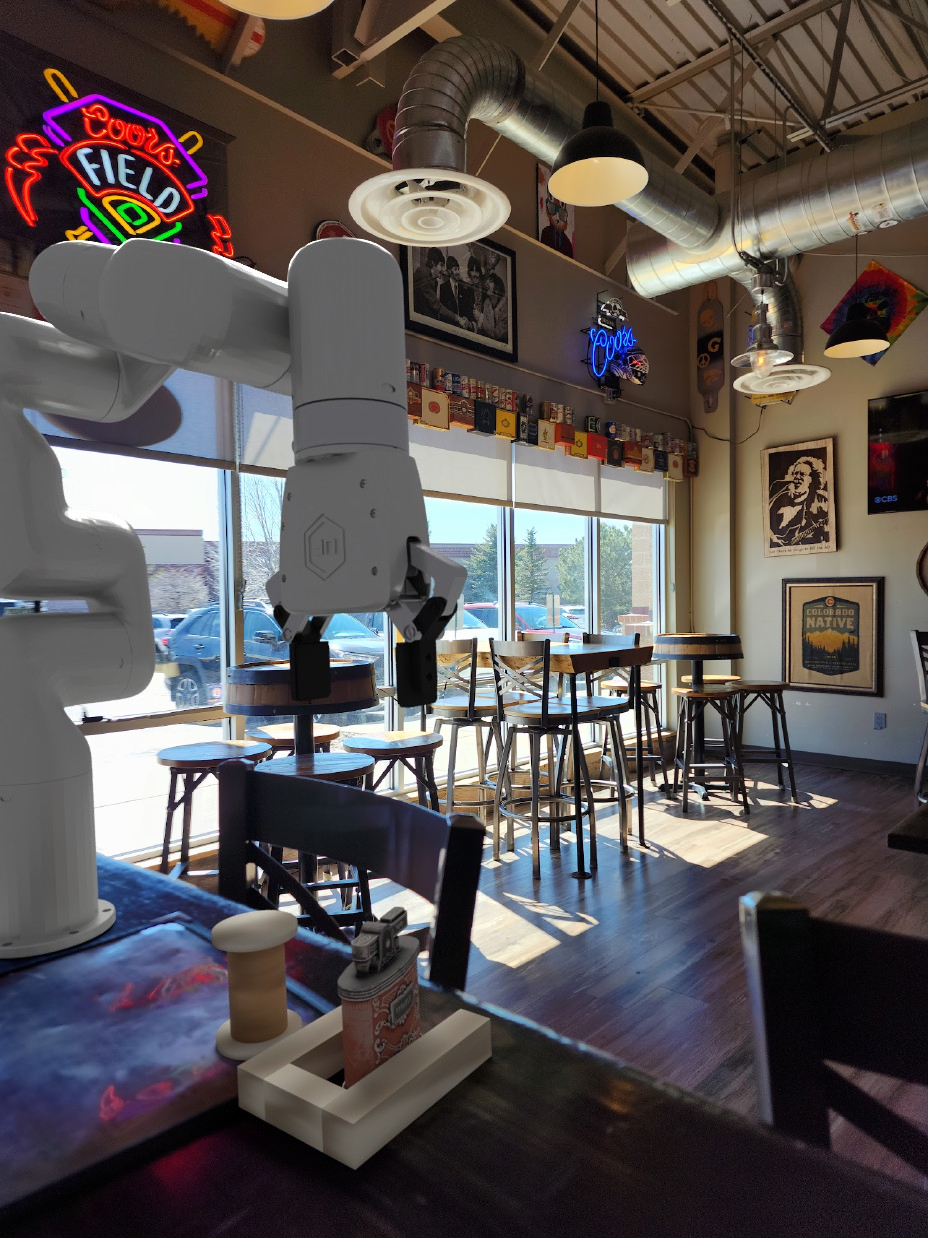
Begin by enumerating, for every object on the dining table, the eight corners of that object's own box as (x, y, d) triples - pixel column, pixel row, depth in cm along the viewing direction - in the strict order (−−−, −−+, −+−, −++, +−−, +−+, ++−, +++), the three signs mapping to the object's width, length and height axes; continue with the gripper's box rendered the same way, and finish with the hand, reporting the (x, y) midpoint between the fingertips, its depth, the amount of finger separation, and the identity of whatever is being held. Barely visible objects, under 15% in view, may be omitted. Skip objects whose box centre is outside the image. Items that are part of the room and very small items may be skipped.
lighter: (378, 1116, 47) (371, 950, 47) (329, 1105, 48) (322, 943, 48) (434, 1046, 54) (428, 902, 54) (391, 1037, 56) (385, 897, 56)
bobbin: (198, 1043, 56) (193, 932, 56) (266, 1007, 61) (261, 904, 61) (252, 1070, 52) (247, 950, 52) (319, 1029, 57) (314, 920, 57)
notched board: (238, 1107, 48) (237, 1066, 48) (382, 1015, 59) (380, 982, 59) (355, 1170, 42) (353, 1124, 42) (491, 1055, 53) (490, 1018, 53)
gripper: (222, 454, 54) (233, 703, 54) (414, 407, 43) (426, 716, 44) (306, 467, 60) (314, 692, 60) (492, 429, 49) (502, 701, 50)
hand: (361, 702), depth 52 cm, fingers open, 9 cm apart
